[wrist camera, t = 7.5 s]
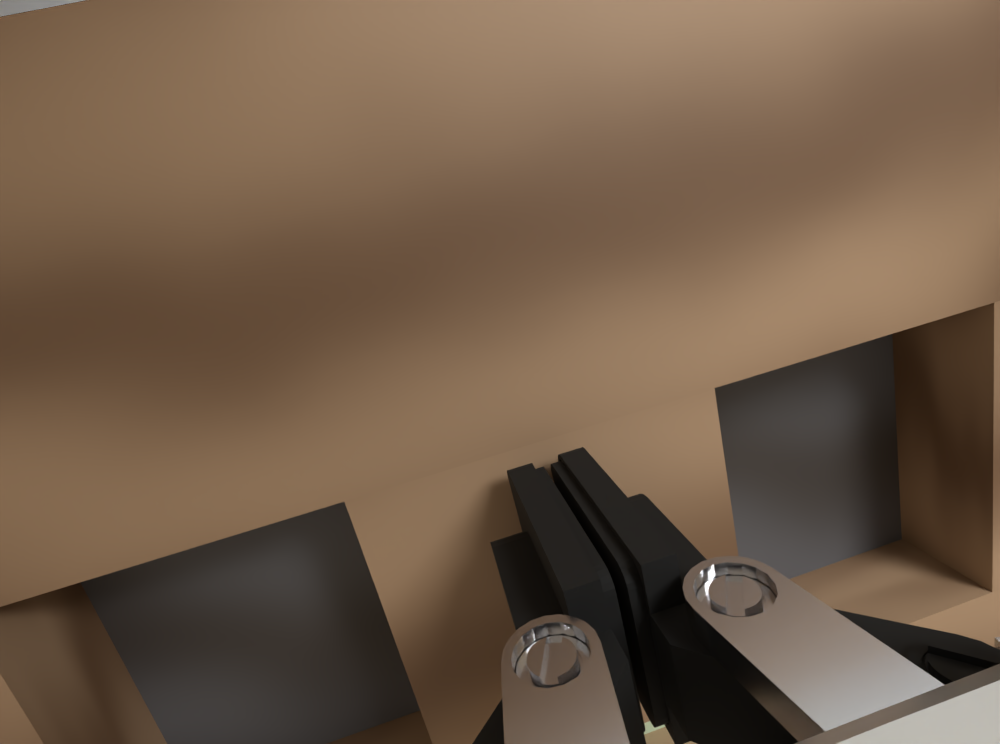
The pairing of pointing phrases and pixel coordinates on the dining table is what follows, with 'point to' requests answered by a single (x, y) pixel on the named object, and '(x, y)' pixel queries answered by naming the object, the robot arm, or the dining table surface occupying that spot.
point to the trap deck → (471, 333)
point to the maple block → (660, 737)
